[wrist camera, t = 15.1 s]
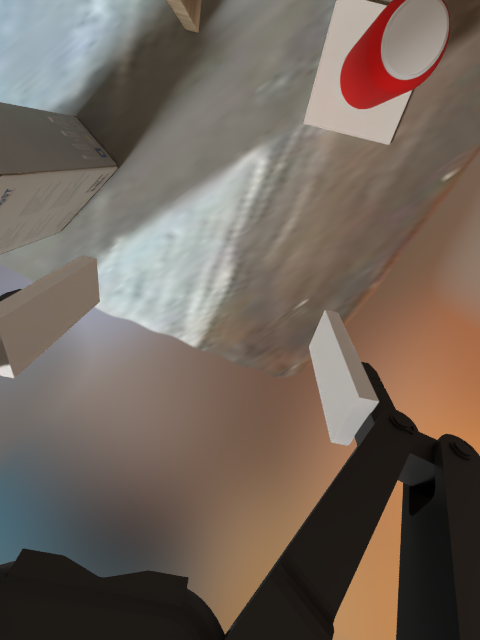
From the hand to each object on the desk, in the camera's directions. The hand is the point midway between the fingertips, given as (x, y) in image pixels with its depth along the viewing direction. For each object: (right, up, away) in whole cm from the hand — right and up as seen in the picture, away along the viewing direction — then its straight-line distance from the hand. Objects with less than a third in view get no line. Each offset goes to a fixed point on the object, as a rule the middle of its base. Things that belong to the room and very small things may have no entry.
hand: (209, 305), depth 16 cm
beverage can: (+16, +27, +15) cm, 35 cm away
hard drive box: (-23, +19, +24) cm, 39 cm away
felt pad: (+16, +27, +15) cm, 35 cm away
